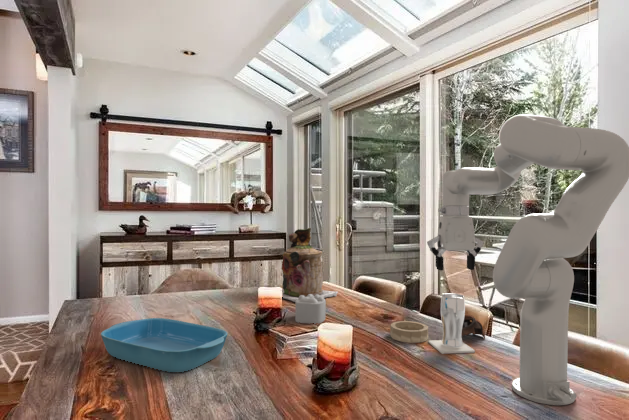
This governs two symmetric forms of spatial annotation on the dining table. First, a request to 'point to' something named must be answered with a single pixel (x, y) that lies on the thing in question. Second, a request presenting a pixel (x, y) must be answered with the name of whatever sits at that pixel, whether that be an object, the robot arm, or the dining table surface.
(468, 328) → the dark brown arch
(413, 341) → the collar
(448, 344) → the beer glass
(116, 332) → the casserole dish
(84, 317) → the dining table surface
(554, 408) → the dining table surface
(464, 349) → the coaster
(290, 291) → the cookie jar
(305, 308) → the gray box with bumps
